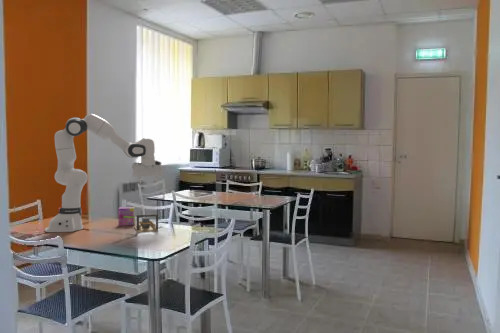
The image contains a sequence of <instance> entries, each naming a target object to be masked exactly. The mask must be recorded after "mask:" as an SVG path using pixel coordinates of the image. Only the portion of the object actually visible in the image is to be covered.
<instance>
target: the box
mask: <svg viewBox="0 0 500 333" xmlns="http://www.w3.org/2000/svg"><path fill="white" fill-rule="evenodd" d="M117 210H118V211H117V213H118V216H117V217H118V226H135V224H136V207H135V206H129V207H127V206H123V207H121V206H119V207H118V209H117Z"/></svg>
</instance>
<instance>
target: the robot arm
mask: <svg viewBox="0 0 500 333" xmlns="http://www.w3.org/2000/svg"><path fill="white" fill-rule="evenodd" d="M86 131H89V132H91V133H92V134H94V135H95V136H97V137H98V138H101V139H103V140H105V141H108V142H111V143H113V144H114V145H116V146H117V147H118V148H120V149H121V150H122V151H123V152H124V154H125V155H126V156H127V157H129V158H139V157H140V162H133V163H132V164H131V168H132V174H131V175H132V176H133V177H137V179H138V180H139V184H143V180H141V179H140V178H141V177H155V179H153V183H154V184H157V180H158V178H159V177H162V176H164V168H163V166H162V162H161V161H159V160H157V159H156V160H155V158H156V157H155V153H156V152H155V149H156V148H155V141H154V140H153V139H151V138H146V137H144V138H141V139H140V140H138V141H136V142H130V141H128V140H126V139H125V138H123V137H122V136H120V135H119V134H118V133H117V132H116V129H115V127H114V126H113V125H112V124H111V123H110V122H108V121H107V120H106V119H104V118H102V117H100V116H98V115H96V114H94V113H89V114H86V115H85V117H84V118H80V117H78V116H74V117H71V118H69V119H68V120H66V122H65V127H64V129H60V130H58V131H56V132H55V133H54V147H55V153H56V157H57V169H56V171H55V173H54V180H55V181H56V183H57V184H60V185H62V186H66V187H65V191H64V192H63V194H62V195H61V207H58V208H57V211H58V214H56V215H55V216H54V217H52V218H51V219H50V220H49V222H48V226H47V227H45V229H44V232H46V233H68V232H69V233H72V232H76V231H80V230H83V229H84V225H83V221H82V206H81V200H82V199H81V196H82V191H83V188H84V186H85V184H87V182H88V179H89V176H88V174H87V173H86V171H84V170H82V169H80V168H75V161H76V160H77V153H76V147H75V143H74V138H75V137H78V136H81V135H82V134H84V133H85V132H86Z"/></svg>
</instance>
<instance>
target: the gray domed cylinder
mask: <svg viewBox="0 0 500 333" xmlns="http://www.w3.org/2000/svg"><path fill="white" fill-rule="evenodd" d="M150 220H151V218H150V217H141V221H142V228H149V227H150Z"/></svg>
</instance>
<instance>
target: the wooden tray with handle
mask: <svg viewBox="0 0 500 333" xmlns="http://www.w3.org/2000/svg"><path fill="white" fill-rule="evenodd" d="M150 217H155V222H154V221H153V220H151V219H150V227H149V228H142V220H140V218H150ZM133 228H134V229H135V231H136V233H146V232H147V233H148V232H150V231H151V232H159V214H157V213H156V214H137V215H136V225H133Z"/></svg>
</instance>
